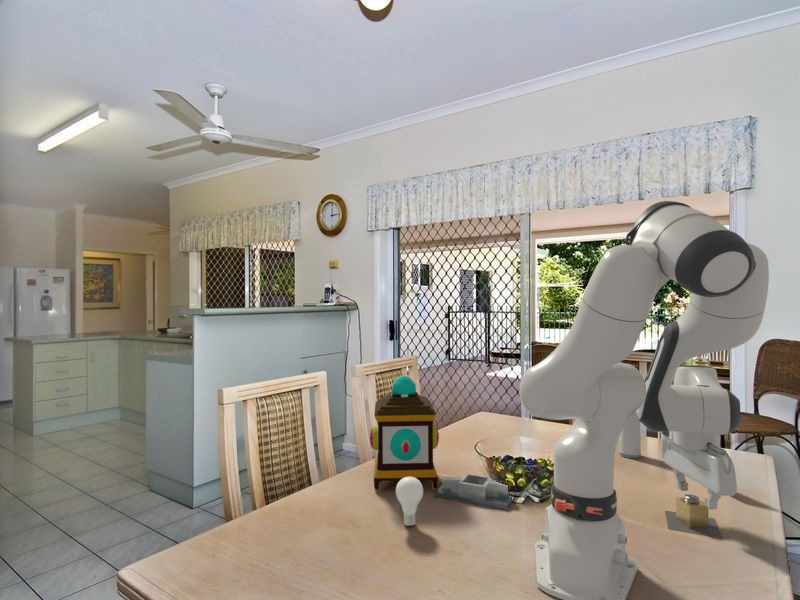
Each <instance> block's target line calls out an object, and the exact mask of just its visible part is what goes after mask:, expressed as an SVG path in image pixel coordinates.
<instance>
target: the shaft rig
mask: <svg viewBox="0 0 800 600" xmlns="http://www.w3.org/2000/svg"><path fill="white" fill-rule="evenodd" d="M490 477H491V476H485V475H481V474H473V473H467V472H466V473H465V474H464V475H463V477H461V476H442V484H441V485H440V487H438V488H437V490H435V492H434V497H435V498H440V499H444V500H449V501H450V500H451V501H455V502H461V503H466V504H471V505H476V506H481V507H488V508H492V509H497V510H502V511H503V510H504V511H508V510H509V509H510V506H511V505H512V503H513V502H514V499H513V500H512V497H509V493H508V485H505V484H502V483H499V482H496V481H497V480H493V478H492V479H491V478H490Z"/></svg>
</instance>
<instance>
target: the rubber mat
mask: <svg viewBox="0 0 800 600" xmlns="http://www.w3.org/2000/svg"><path fill="white" fill-rule="evenodd" d="M664 514H665V519H666V522H667V528H668V530H672V531H677V532H681V533H683V532H684V533H688V534H694V535H699V536H705V537H711V538H716V539H721V540H723V539H724V537H723V534H722V533H721V530H720V527H719V525H718V524H717V521H716V520H717V519H716V518H713V517H708V520H709V528H696V529H689V528H688V527H686V526H685V525H683V524H682V523H681V522H679V521H678V520H676V511H670V510H664Z"/></svg>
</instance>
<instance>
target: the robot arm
mask: <svg viewBox="0 0 800 600" xmlns="http://www.w3.org/2000/svg"><path fill="white" fill-rule="evenodd" d="M632 225H633V226H632V228H631V229H630V230H629V231H628V232H627V234H626V238H625V244H619V245H615V246H612V247H611V248H609V249H608V250H607V251H605V253H604V254H603V255H602V257H601V258H600V260H599V261H598V263H597V265H596V267H595V269H594V270H593V272H592V274H591V276H590V278H589V281H588V284H587V286H586V288H585V290H584V292H583V295H582V298H581V301H580V304H579V307H578V310H577V312H576V314H575V318H574V320H573V322H572V325H571V327H570V329H569V331H568V332H567V334H566V336H565V337H564V338H563V340H562V341H561V342H560V343H559V344H558V345H557V347H556V348H555V349H554V350H552V352H551V353H550V354H548V356H546V357H545V358H544V359H542V360H541V361H540V362H538V363H536V364H534V365H533V366H530V367H529V368H527V369H526V370H525V371H524V372H523V374H522V376H521V378H520V382H519V388H518V390H519V391H518V393H519V398H520V401H521V403H522V405H523V407H524V408H525V410H526V411H527V412H528V413H529V414H530V415H532V417H536V418H542V419H548V420H556V421H558V420H559V421H561V420H574V422H573V423H572V426H571V427H570V428H569V430H568V431H567V432H566V433H565V434H563V435H562V436H561V437H559V438H558V439H557V440H556V442H555V444H554V447H553V481H552V482H551V490H550V495H551V503H550V505H548V506H547V507H545V533H544V532H543V533H542V534H541V539H542V540H538V541H535V543H534V556H535V557H534V558H535V560H534V561H535V573H536V575H535V576H536V586H537V588H539V590H541V591H543V592H544V593H546V594H548V595H550V596H553V597H555V598H557V599H561V600H626V599H627V597H628V595H629V593H630V590H631V588H632V585H633V584H634V580H635V577H636V576H637V572H638V570H639V569H638V564H637V563H636V561H634V560H633V559H631V558H629V557H628V552H627V541H628V539H627V535H626V524H625V521H624V520H623V519H622V518H621V517H620V516H619V515H618V513H617V511H618V509H617V507H618V506H617V505H618V498H617V491H616V489H615V485H614V483H615V482H614V481H615V478H614V477H615V475H614V474H615V457H616V456H615V455H616V449H617V445H618V442H619V436H620V434H621V432H622V430H623V427H624V426H625V424H626V422H627V421H628V419H629V418H630V416H631V415H632V414H633V413H634V412H635V411H636V413H637V417H638V420H639V421H640V424H642V425H643V426H645V428H646V429H649V431H651V432H653V433H656V432H659V433H660V435H661V438H660V455H661V459H662V461H663V463H664V464H665V465H667V466H669V467H671V468H672V471H673V475H674V479H675V480H676V488H677V489H679V491H681V492H688V490H689V483H688V482H687V480H686V477H688V479H690V480H693V481H694V482H696V483H698V484H700V485H701V486H702V487H704V488H706V489H707V494H708V496H707V498H705V497H704V503H705V506H706V507H707V508H708V510H717V509H718V502H719V500H720V499H721V498H722V497H723V496H725V497H727V496H729V495H734V494H735V493H736V494H737V492H738V489H737V488H738V486H737V476H736V475H737V474H735V473H736V468H735V465H734V462H733V460H732V458H731V456H730V455H729V454H728V452H727V450H726V449H724V448H722V447H720V446H721V438H720V435H729V434H732V433H733V432H734V431H735V430H736V429H737V428H738V427H739V426H740V425H741V402H740V401H741V400H740V399H739V398H738V397H737V396H736V394H734V393H733V392H731V391H730V390H728V389H727V388H723V387H722V385H721V384H720V383H719V377H718V373H717V369H716V368H715V367H712V366H709V365H702V364H700V365H699V364H697V365H695V364H691V365H690V364H686V365H685V364H684V365H682V364H683V363H685V362H687V361H688V360H692V359H694V358H697V357H701V356H704V355H708V354H713V353H719V352H724V351H728V350H731V349H735V348H737V347H740V346H743V345H744V344H746V343H747V342H749V341H750V340H751V339H753V338H754V336H755V335H756V334H757V333H758V331H759V329H760V326H761V324H762V321H763V318H764V314H765V311H766V310H765V309H766V305H767V301H768V294H769V283H770V282H769V281H770V278H769V276H770V273H769V270H770V269H769V258H768V257H767V255H766V253H765V252H764V251H763V250H762V249H761V248H760V247H758V246H756V245H754V244H751V243H748V242H746V240H745V239H744V238H743V237H742V236H741V235H739V234H738V233H737V232H735V231H732V230H730V229H728V228H727V227H726V226H725V225H723V224H722V223H720V222H718V220H716V219H715V218H714V217H713V216H711V215H709V214H707V213H705V212H703V211H700V210H699V209H695V208H693V207H691V206H690V205H688V204H686V203H683V202H679V201H673V200H665V201H664V200H662V201H658V202H656V203H654V204H652V205H649V207H647V208H646V209H645V210H644V211H643V212H642V213H640V214H639V216H638V217H637V218H636V220H635V222H634V224H632ZM670 280H673V281H674V282H676V283H678V285H679V286H680V287H681V288H682V289H684V290H685V291H686V292H687V291H688V292H689V293H690V299H689V303H688V305H687V307H686V309H685V310H684V312H683V313H681V315H680V316H679V317H678V318H677V319H675V320H673V321H671V322H669V323H668V324H666V326H665V327H664V329H663V331H662V333H661V335H660V337H659V340H658V343H657V345H656V348H655V349H654V350H655V351H654V354H653V357H652V360H651V362H650V364H649V368H648V370H647V373H646V375H645V378H644V376H643V374H641V372H640V371H639V369H637V368H636V366H634V365H633V364H629V363H624V362H622V361H624V360H626V359H627V358H628V357H629V356H630V355H631V353H632V352H633V351H634V349H635V347H636V345H637V342H638V340H639V337H640V335H641V333H642V330H643V328H644V326H645V323H647V319H648V317H649V314H650V312H651V310H652V306H653V304H654V301H655V297H656V296H657V294H658V292H659V291H660V290H661V288H662V287H663V286H664V285H666V284H667V283H668V282H669V281H670ZM672 383H673V384H672ZM729 497H730V496H729Z"/></svg>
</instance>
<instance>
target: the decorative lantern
mask: <svg viewBox="0 0 800 600" xmlns="http://www.w3.org/2000/svg"><path fill="white" fill-rule="evenodd" d="M373 414H374V418H375V420H376V423H377V425H374V426H372V428H371V430H370V433H369V443H370V447H371V448H372V449H373V450H374V451H378V452H377V454H376V456H375V459H374V472H373V473H374V474H373V486H374V490H375V491H380V485H381V482H391V481H392V482H393V481H394V482H395V481H398V482H399V481H400V480H401V479H402V478H404V477H408V476H411V477H415V478H416V479H418V480H419V481H430V482H431V487H432V489H433V490H436V489H437V490H438V485H439V477H438V474H437V469H436V467H435V464H434V450H435V449H436V448H437V447H438V445H439V441H440V433H439V430H438V428H437V426H436V425H434V421H435V419H436V417H437V412H436V410H435V408H434V406H433V404H432V402H431V401H430V399H429V398H427V396H425V395H421V394H419V393H418V392H417V386H416V382H414V380H413V379H412V378H411V377H410V376H408V375H405V374H404V375H400V376H399V377H397V378H396V379H395V380H394V382H393V383H392V385H391V392H389V393H388V394H387V395H386V396H381V397H380V398H379V399H377V401H375V405H374V413H373Z"/></svg>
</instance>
